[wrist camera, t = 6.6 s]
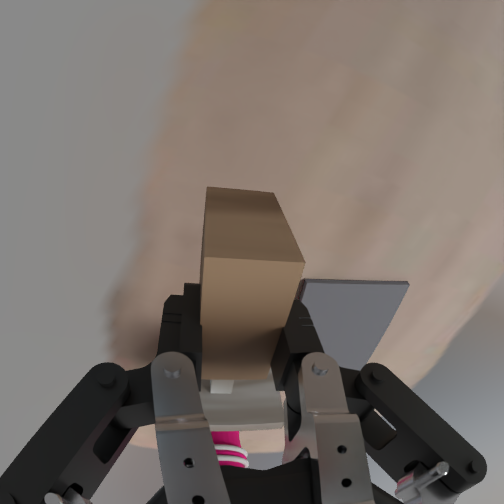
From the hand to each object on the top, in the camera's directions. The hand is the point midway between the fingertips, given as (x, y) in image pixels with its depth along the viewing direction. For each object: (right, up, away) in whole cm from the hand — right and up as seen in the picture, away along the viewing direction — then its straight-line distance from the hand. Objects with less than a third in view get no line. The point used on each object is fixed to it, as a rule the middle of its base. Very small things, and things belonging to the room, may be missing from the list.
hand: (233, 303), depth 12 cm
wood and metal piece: (-1, 0, +3) cm, 3 cm away
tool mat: (+10, -7, +19) cm, 23 cm away
